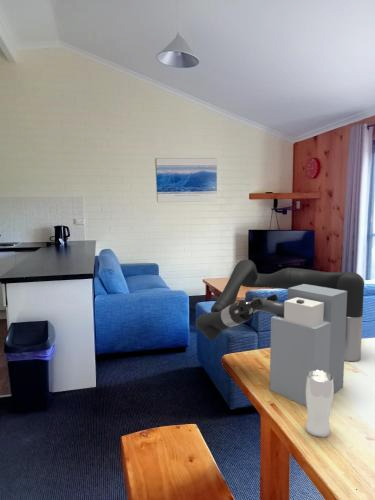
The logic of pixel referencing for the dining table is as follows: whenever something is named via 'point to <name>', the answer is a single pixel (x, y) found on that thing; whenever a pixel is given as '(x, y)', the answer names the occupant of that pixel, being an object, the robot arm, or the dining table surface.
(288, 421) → the dining table surface
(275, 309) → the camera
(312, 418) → the beer glass
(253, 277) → the robot arm
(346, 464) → the dining table surface
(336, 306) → the stepped stand
